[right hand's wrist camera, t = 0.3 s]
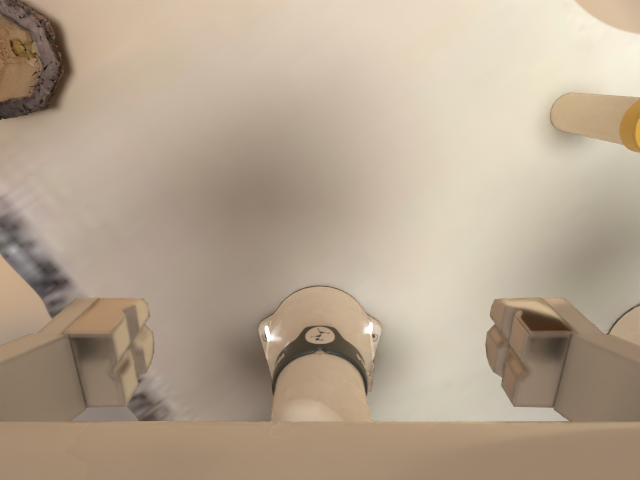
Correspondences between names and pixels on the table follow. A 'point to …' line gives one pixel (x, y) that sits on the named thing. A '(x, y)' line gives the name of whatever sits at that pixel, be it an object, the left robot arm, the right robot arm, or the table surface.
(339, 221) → the table surface
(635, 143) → the lid
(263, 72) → the table surface
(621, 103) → the jar
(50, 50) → the miniature building
